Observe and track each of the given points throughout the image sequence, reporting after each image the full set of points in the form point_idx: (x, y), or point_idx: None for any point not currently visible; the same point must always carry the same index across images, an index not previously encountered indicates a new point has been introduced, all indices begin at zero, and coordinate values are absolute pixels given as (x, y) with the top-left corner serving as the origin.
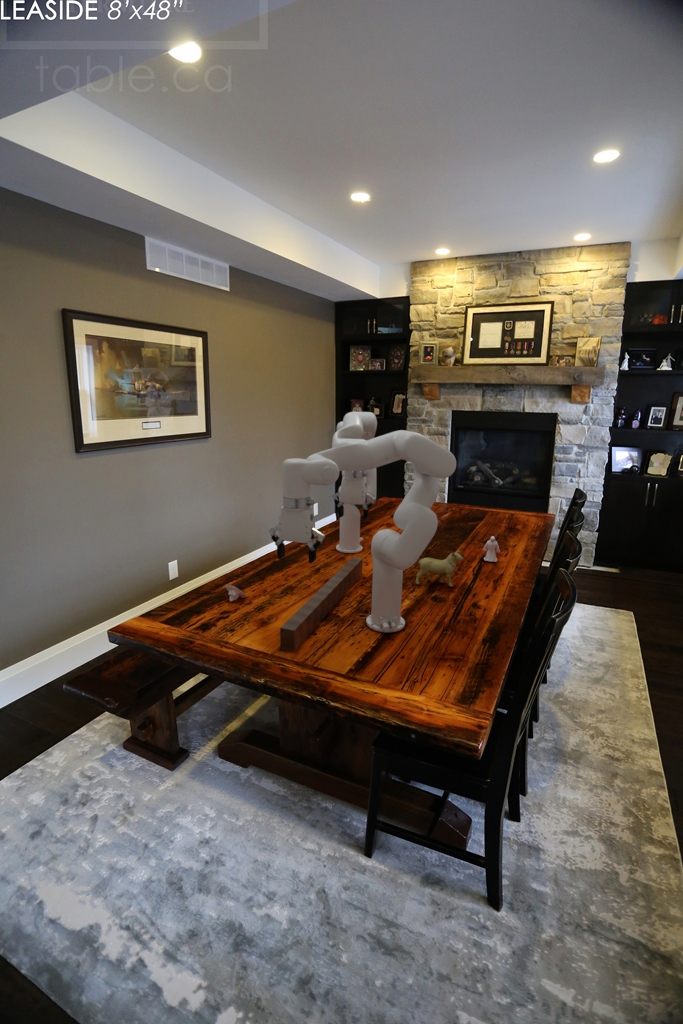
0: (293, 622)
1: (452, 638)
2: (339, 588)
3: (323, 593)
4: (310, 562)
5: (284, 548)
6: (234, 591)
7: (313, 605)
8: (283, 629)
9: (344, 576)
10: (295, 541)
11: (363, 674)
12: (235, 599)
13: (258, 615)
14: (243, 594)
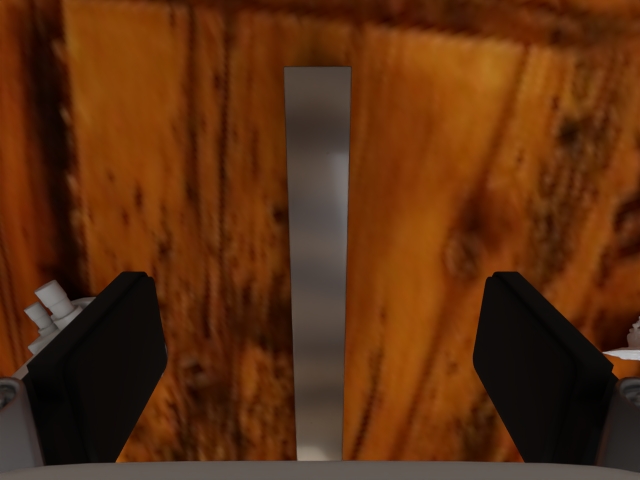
0: (318, 137)
1: None
2: None
3: (314, 398)
4: (122, 274)
5: (509, 421)
6: None
7: (307, 302)
8: (334, 66)
9: None
10: (266, 462)
11: (5, 19)
12: (632, 324)
13: (513, 264)
14: (616, 349)
